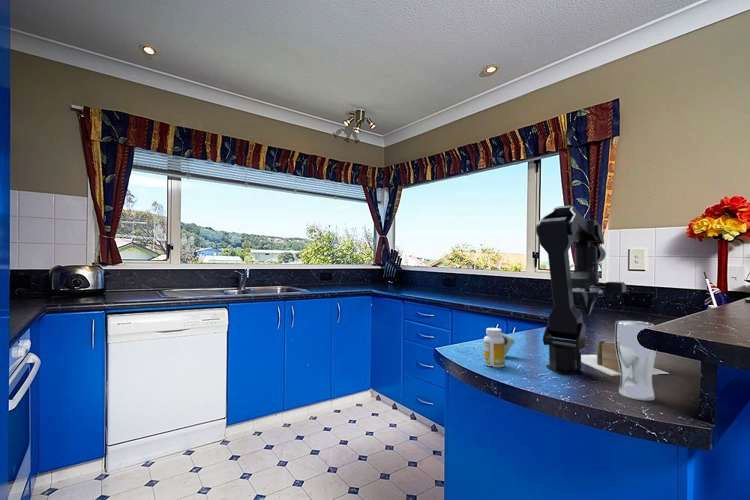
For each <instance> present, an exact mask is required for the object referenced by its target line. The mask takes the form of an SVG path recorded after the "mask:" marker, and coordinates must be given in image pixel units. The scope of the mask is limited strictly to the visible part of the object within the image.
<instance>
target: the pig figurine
mask: <svg viewBox="0 0 750 500" xmlns="http://www.w3.org/2000/svg"><path fill="white" fill-rule="evenodd" d="M501 337H502V338H503V339H504V343H505V356H506V355H507V354H508V353H509V351H510V349H511V348H512V346H513V345H514V344H515V342H516V340H515V338H513V337H510V336H508V335H507V334H506V333H503V332H502V335H501Z"/></svg>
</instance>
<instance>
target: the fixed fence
mask: <svg viewBox="0 0 750 500" xmlns="http://www.w3.org/2000/svg"><path fill="white" fill-rule="evenodd" d="M605 342H606V341H604V340H596V355H597V364H598V365H601V366H603V367H606V368H608V369H611V370H613V371H615V372H618V373H620V368H619V363H618V359H617V354H616V349H615V346H612V345H609V344H606V343H605Z"/></svg>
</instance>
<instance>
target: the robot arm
mask: <svg viewBox="0 0 750 500" xmlns="http://www.w3.org/2000/svg"><path fill="white" fill-rule="evenodd" d="M535 228H536V229H535V231H536V235H537V237H538V240H539V245H540V246H541V247H542V248H543V250H544V251H545V252H546V253H547V255H548V257H547V258H548V259H547V260H548V265H549V266H548V267H549V275H550V277H549V278H550V283H551V284H550V287H551V292H552V293H551V294H552V303H553V308H552V310H551V312H550V313H549V315H548V316H547V318H548V319H547V323H546V327H545V330H544V333H543V336H542V342H543V346H548V354H549V355H548V359H549V361H548V363H549V364H546V365H545V367H546V368H547V369H550V370H552V372H553V371H554V373H558V374H560V375H563V374H565V375H566V374H567V375H571V374H572V375H574V374H575V375H576V374H577V375H578V374H584V373H585V371H584V370H582V362H581V355H582V353H581V352H580V350H583V349H584V348H585V345H586V335H587V331H586V330H587V328H586V324H585V323H584V319H583V312H582V310H581V309H580V308H577V307H576V306H575V303H574V295H575V297H577V299H578V301H579V302H580V305H581V306H582V307H581V308H582V309H583V311H584V314H585V315H586V316H590V314H591V313H592V310H593V308H594V305H595V303H596V301H597V299H598V298H599V296H600V295H604V291H607V292H608V293H614V294H615V293H616V294H617V293H618V294H619V293H620V294H623V293H626V292H627V285H626V282H624V281H606V282H605V283H599V282H600V277H599V273H598V271H599V266H598V264H599V263H601V262H603V261H604V260H605V258H606V255H607V254H606V250H605V249H604V248H603V247H602V246H600V245H604V244H605V240H604V235H603V232H602V230H603V229H602V227H601V224H599V222H598V221H597V220H593V219H586V218H585V217H584V216H583V215H582V214H581V213H580V212H579V211H578V210H577V207H576V206H575V205H571V204H570V205H562V206H556V207H554V208H553V209H552V211H551V212H549V213H547V214H545V215H544V216H542V217H541V218H540V220H539V221H538V222H537V224H536V227H535ZM573 244H574V255H575V256H574V257H575V258H574V259H575V261H574V262H575V266H574V268H573V270H574V271H573V273H572V274H571V265H570V256H569V255H570V254H569V250H570V248H571V246H572V245H573ZM587 290H589V292H588V291H587ZM573 294H574V295H573Z"/></svg>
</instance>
